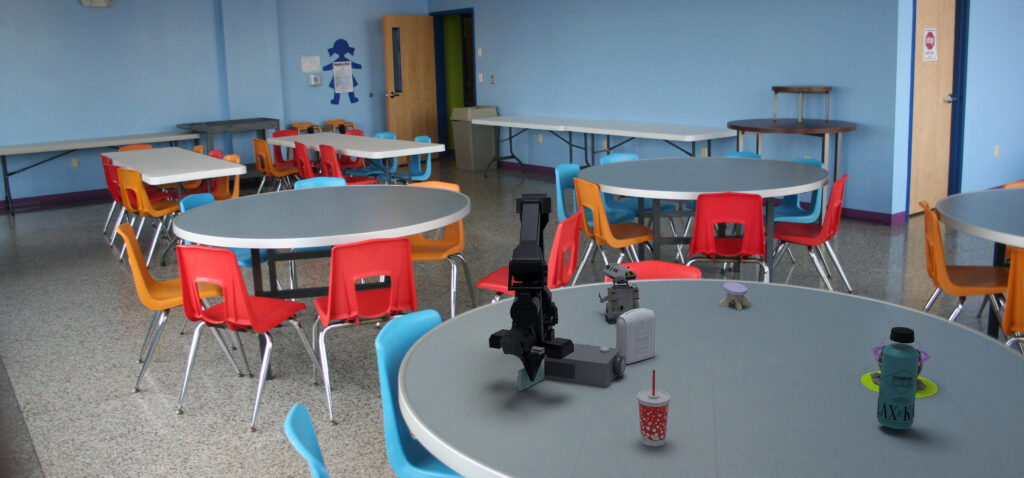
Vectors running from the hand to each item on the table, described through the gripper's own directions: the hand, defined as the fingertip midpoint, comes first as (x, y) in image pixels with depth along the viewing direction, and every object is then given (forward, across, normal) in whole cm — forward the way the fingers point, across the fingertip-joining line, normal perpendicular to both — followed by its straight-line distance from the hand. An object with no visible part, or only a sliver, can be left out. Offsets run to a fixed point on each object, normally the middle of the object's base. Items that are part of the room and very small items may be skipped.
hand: (532, 381), depth 175 cm
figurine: (+2, -6, +55) cm, 55 cm away
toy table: (+3, +17, +81) cm, 83 cm away
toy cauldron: (+4, +66, +42) cm, 79 cm away
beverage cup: (+4, +32, -9) cm, 34 cm away
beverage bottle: (+4, +69, +19) cm, 72 cm away
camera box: (+2, +4, +13) cm, 14 cm away
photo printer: (+3, +11, +28) cm, 31 cm away
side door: (+2, -2, +2) cm, 4 cm away
